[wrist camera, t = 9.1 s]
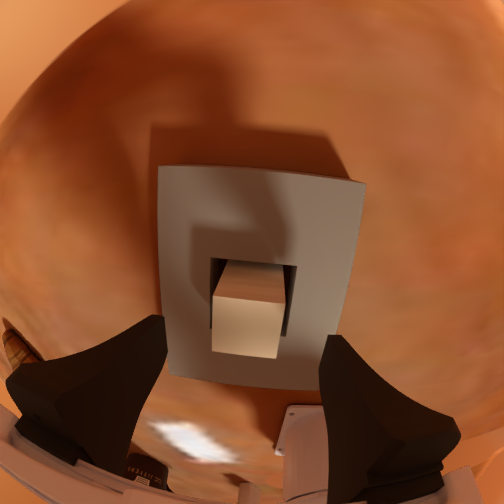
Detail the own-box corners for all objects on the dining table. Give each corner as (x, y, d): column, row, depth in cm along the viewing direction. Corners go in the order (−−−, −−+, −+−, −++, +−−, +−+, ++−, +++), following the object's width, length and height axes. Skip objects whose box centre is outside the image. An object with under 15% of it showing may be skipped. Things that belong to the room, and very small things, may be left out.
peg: (275, 301, 19) (275, 358, 13) (229, 295, 19) (211, 350, 13) (282, 256, 18) (285, 303, 12) (231, 251, 18) (212, 295, 12)
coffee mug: (112, 452, 30) (91, 499, 21) (139, 446, 28) (116, 503, 18) (169, 485, 32) (156, 530, 23) (202, 481, 30) (190, 534, 21)
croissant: (4, 333, 25) (-17, 352, 20) (17, 317, 23) (-8, 339, 18) (67, 408, 28) (51, 431, 23) (88, 402, 26) (71, 430, 21)
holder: (314, 363, 20) (318, 390, 18) (180, 349, 21) (169, 374, 18) (350, 179, 16) (366, 184, 13) (177, 163, 16) (158, 165, 13)
